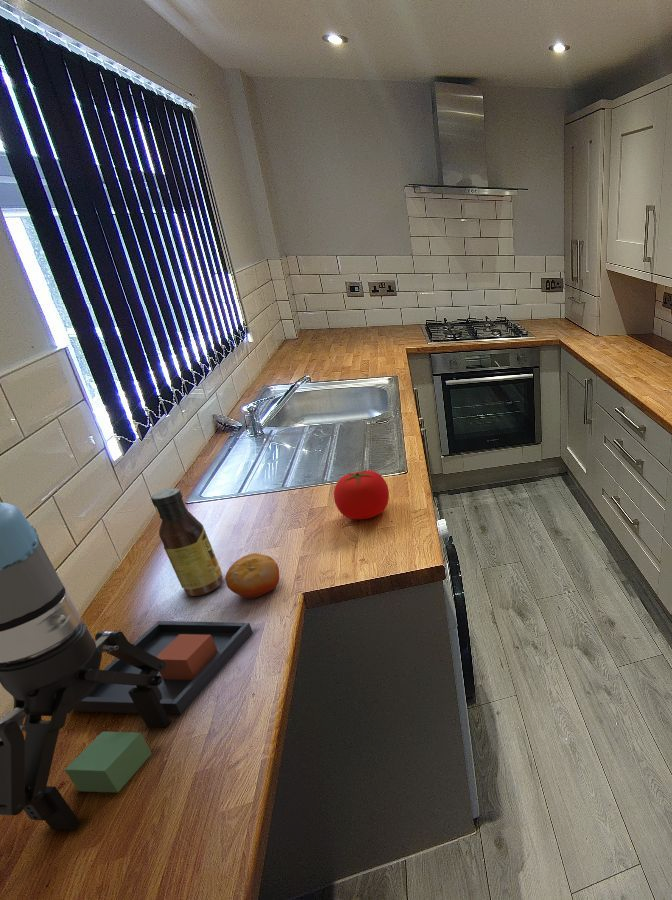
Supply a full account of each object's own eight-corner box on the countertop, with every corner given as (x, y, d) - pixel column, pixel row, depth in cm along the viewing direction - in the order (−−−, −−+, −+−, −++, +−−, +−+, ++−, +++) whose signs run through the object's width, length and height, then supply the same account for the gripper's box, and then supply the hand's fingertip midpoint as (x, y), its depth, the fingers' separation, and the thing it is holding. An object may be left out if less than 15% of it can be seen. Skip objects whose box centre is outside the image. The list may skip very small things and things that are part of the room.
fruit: (271, 561, 102) (267, 540, 97) (287, 594, 99) (284, 574, 94) (222, 580, 97) (216, 559, 91) (238, 615, 94) (232, 596, 89)
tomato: (389, 497, 128) (381, 458, 123) (395, 521, 118) (386, 479, 113) (339, 507, 123) (329, 467, 119) (340, 533, 113) (329, 491, 109)
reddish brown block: (162, 679, 78) (153, 659, 76) (188, 653, 82) (179, 633, 80) (195, 680, 77) (186, 660, 76) (219, 654, 82) (211, 634, 80)
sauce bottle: (231, 583, 98) (196, 490, 90) (193, 602, 94) (153, 506, 85) (214, 571, 102) (179, 481, 93) (177, 589, 97) (136, 496, 89)
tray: (73, 711, 73) (67, 701, 72) (162, 630, 88) (158, 620, 87) (181, 714, 73) (175, 704, 72) (253, 632, 87) (249, 622, 86)
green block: (78, 791, 63) (64, 769, 61) (115, 752, 68) (102, 731, 66) (118, 792, 63) (104, 771, 61) (152, 753, 67) (140, 732, 66)
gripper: (-67, 746, 45) (47, 887, 54) (161, 569, 67) (215, 689, 76) (-149, 744, 45) (-22, 884, 54) (105, 568, 68) (165, 688, 76)
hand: (116, 771), depth 65 cm, fingers open, 12 cm apart
